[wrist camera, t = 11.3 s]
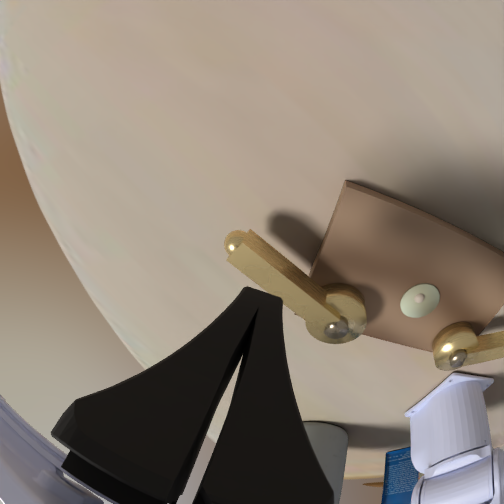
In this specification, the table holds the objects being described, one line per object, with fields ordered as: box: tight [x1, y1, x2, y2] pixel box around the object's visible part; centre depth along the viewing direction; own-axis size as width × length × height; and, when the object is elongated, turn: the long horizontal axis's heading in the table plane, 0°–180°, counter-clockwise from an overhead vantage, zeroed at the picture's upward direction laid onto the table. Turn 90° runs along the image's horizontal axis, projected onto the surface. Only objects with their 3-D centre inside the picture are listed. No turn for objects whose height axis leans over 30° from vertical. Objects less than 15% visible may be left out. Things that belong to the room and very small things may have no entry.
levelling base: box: [295, 180, 504, 352], centre depth 17 cm, size 10×16×2 cm, turn 78°
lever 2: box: [432, 322, 504, 371], centre depth 15 cm, size 11×4×2 cm, turn 104°
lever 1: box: [224, 229, 367, 344], centre depth 17 cm, size 11×4×2 cm, turn 53°
